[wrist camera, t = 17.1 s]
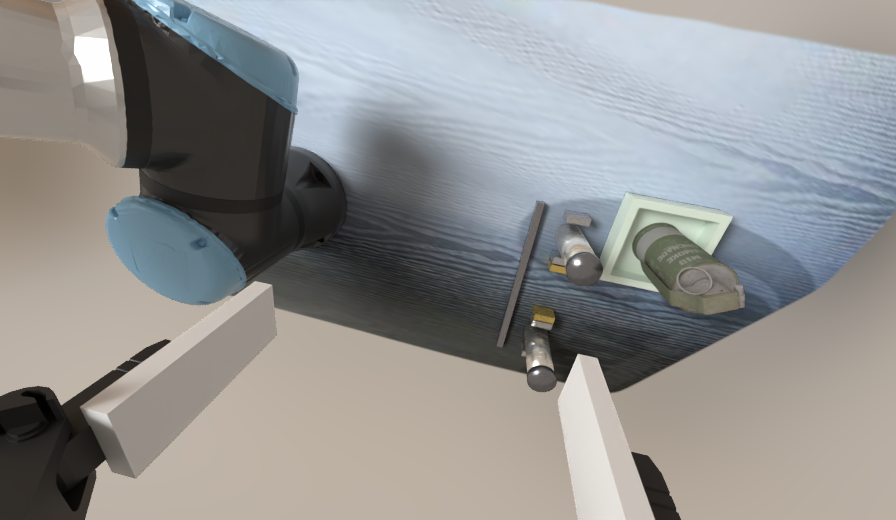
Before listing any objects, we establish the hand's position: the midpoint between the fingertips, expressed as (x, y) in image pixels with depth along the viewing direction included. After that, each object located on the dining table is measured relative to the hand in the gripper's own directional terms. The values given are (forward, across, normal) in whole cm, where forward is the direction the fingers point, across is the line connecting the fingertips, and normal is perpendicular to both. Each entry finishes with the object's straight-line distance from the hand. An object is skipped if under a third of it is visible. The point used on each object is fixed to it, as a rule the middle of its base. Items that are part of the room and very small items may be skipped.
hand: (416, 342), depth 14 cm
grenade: (+34, +25, -4) cm, 43 cm away
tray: (+35, +25, -4) cm, 43 cm away
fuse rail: (+35, +12, -14) cm, 39 cm away
